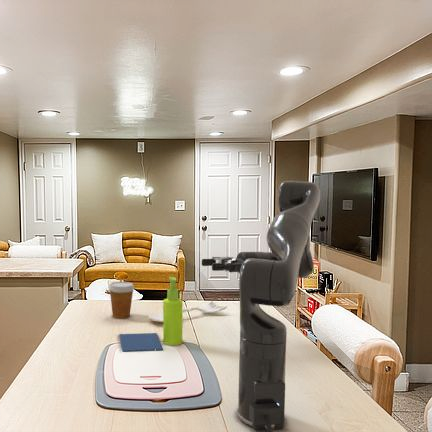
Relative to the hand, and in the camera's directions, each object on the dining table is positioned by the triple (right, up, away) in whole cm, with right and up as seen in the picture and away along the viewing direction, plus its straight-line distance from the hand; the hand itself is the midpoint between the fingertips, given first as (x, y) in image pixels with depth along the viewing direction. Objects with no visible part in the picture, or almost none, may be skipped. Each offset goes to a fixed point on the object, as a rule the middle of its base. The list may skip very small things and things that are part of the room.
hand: (207, 264), depth 135 cm
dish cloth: (-21, -24, -2) cm, 32 cm away
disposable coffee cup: (-28, -22, +25) cm, 44 cm away
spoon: (-4, -22, +24) cm, 33 cm away
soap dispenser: (-11, -24, -1) cm, 26 cm away
